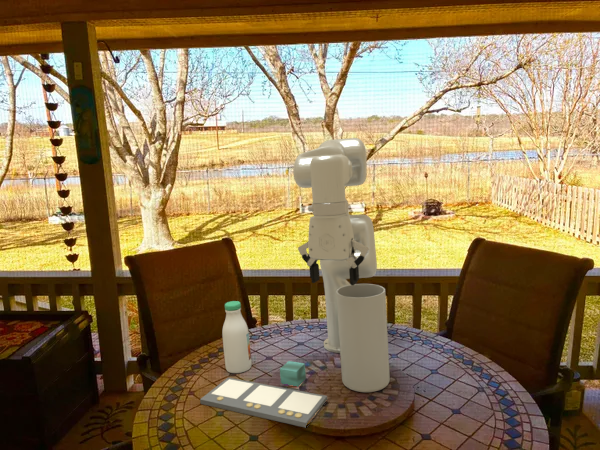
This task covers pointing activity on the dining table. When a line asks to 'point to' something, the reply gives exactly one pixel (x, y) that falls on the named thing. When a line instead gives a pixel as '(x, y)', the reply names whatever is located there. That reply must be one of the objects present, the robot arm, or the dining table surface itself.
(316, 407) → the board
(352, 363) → the cylinder vase
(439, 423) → the dining table surface
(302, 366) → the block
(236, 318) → the milk bottle
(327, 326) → the robot arm
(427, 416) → the dining table surface
